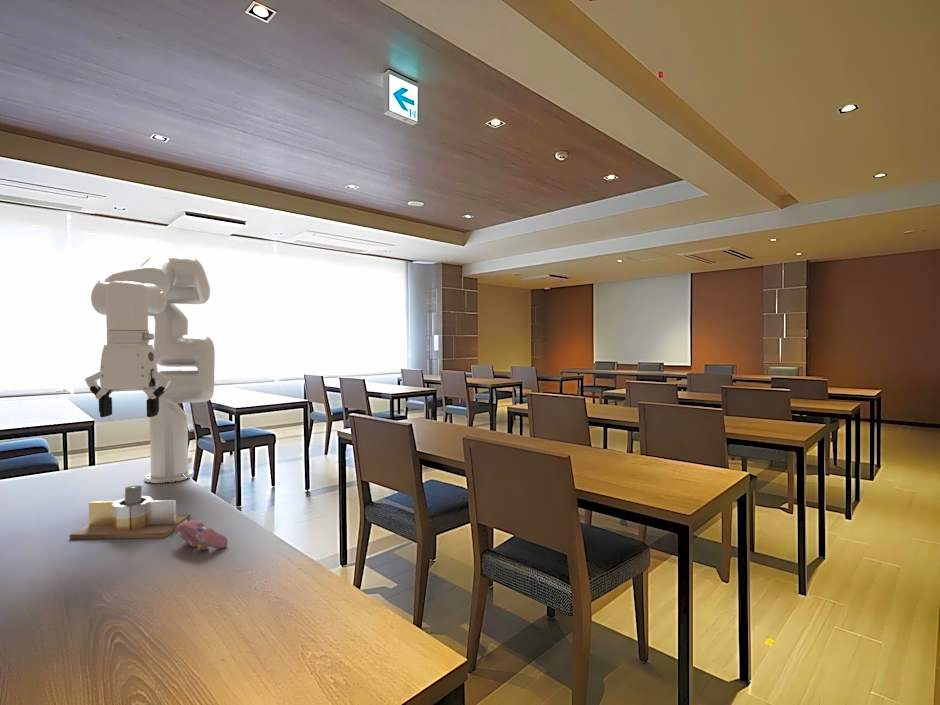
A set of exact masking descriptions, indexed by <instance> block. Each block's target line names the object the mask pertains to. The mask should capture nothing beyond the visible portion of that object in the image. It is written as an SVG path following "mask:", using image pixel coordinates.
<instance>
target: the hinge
mask: <svg viewBox="0 0 940 705" xmlns="http://www.w3.org/2000/svg"><path fill="white" fill-rule="evenodd" d="M176 514H177V499H165V500H164V499H162V500H161V499H158V500H157V499H155V500H154V498H153V497H151V496H149V495H141V503H138V504H134V505H125V497H124V498H121V499H117V500H91V501H90V502H88V520H89V521H88V522H89V523H88V524H89V525H112V527H113V528H114V529H115V530H133V529H137V528H141V527H145V526H148V525H149V524H175V523H176Z"/></svg>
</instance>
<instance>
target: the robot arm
mask: <svg viewBox="0 0 940 705" xmlns="http://www.w3.org/2000/svg"><path fill="white" fill-rule="evenodd" d="M210 296H211V287H210V282H209V280H208V277H207V275H206V271H205V269H204V267H203V264H201V262H200V261H199V260H198V259H197V258H195V257H192V256H178V255H163V254H159V255H154V256H151V257H149V258H147V259H146V260H145V261H144V262H142V264H141V265H140V266H138V267H136V268H132V269H127V270H122V271H118V272H114V273H113V272H112V273H110V274H106V275H105V276H102V277H101V278H100V279H99V281H97V282H96V283H95V285H94V286H93V288H92V290H91V293H90V302H91V305H92V307H93V309H94V310H95V311H96V312H97V313H98V314H100V315H104V316H105V318H106V344H104V345H103V349H102V352H101V359H100V365H99V366H100V367H99V369H100V370H99V371H98V372H96V373H95V374H92V375H90V376H88V377H86V378H85V380H84V381H85V383H86V384H87V387H88V388H89V391H90V392H91V393H92V394H93V395H94V396H95V398H96V400H98V412H99V417H100V418H106V417H109V416H111V415H113V399H112V396H110V395H111V394H112V393H113V392H114V391H121V392H122V391H125V392H126V391H128V392H130V391H133V392H134V391H137V392H138V391H143V392H144V393H145V395H147V396H146V397H147V399H146V416H147V418H149V434H150V435H149V437H150V439H149V440H150V442H149V444H150V450H149V451H150V453H149V454H150V472H149V473H146V474H145V475H144V482H146V483H149V482H151V483H150V484H167V482H169V483H175V481H176V482H180V481H184V480H187V478H186V477H188V479H190V478H193V476H194V475H195V471H194V469H192V468H189V464H191V463H192V462H193V458H192V457H190V456H189V436H188V434H189V432H188V431H189V430H188V429H189V426H188V425H189V424H188V422H189V421H188V415H187V413H186V412H185V411H184V410H183V409H182V408H181V407H180V405H179V404H184V403H186V404H187V403H189V404H190V403H205V402H208V401H210V400H211V399H212V398H213V397H214V392H215V359H216V358H215V354H216V353H215V352H216V351H215V346H214V342H213V340H212V339H211V338H210V337H209V336H207V335H201V334H200V335H197V334H195V335H193V334H190V335H189V334H188V328H189V325H188V324H189V322H188V317H186V315H185V314H184V312H183V311H181V309H180V308H179V307H177V306H176V305H175V304H179V305H181V304H182V305H203V304H205V303H207V302H208V300H209V299H210ZM149 317H153V319H154V333H150V331H149ZM151 340H152V341H153V340H154V342H153V343H154V344H149V343H150V341H151ZM157 365H158V366H160V367H166V368H167V367H168V368H181V367H183V368H184V367H185V368H186V367H187V368H189V367H190V368H195V369H197V370H161V371H158V366H157ZM98 380H99V381H100V382H99V383H100V385H98ZM183 474H184V475H185V476H186V477H185V476H184V475H183ZM185 478H186V479H185ZM165 482H166V483H165Z"/></svg>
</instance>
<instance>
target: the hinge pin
mask: <svg viewBox="0 0 940 705" xmlns="http://www.w3.org/2000/svg"><path fill="white" fill-rule="evenodd" d="M142 491H143V490H142V485H138V484H137V485H130V486H129V485H128V486H126V487H125V488H124V498H125V505H134V504H138V503H141V496H142Z"/></svg>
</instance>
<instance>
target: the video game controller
mask: <svg viewBox="0 0 940 705" xmlns="http://www.w3.org/2000/svg"><path fill="white" fill-rule="evenodd" d="M174 532H175V533H176V534H175V536H176V537H177V538H178V539H182V540H184V541H185V542H186V543H187V544H188V545H189V546H190V547H192V548H195V547H196V546H197V548H198V549H199V550H202V551H205V550H207V548H209V547H211V548H213V549H223V548H226V547H227V545H228V542H229V541H228V538H227V537H226V536H225V535H222V534H220V533H218V531H216V530H214V529H213V527H210V526H209V525H207V524H204V522H202V521H201V520H199V519H198V520H197V519H191V520H190V519H189V520H185V522H182V523H180V524H179V525H178V526H177V527H176V528H175V530H174Z"/></svg>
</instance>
